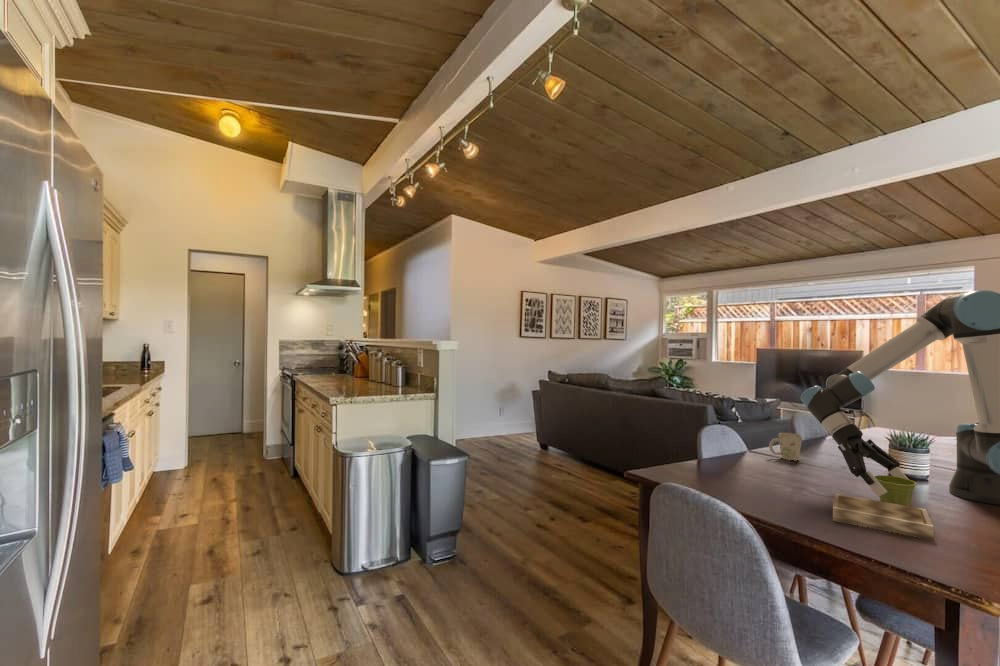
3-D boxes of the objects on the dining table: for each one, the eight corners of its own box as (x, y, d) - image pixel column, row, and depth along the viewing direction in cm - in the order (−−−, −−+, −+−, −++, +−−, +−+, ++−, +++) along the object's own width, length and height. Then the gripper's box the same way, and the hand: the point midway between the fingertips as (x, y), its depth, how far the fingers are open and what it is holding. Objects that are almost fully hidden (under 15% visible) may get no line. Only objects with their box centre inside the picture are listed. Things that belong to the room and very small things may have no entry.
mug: (806, 461, 188) (806, 437, 188) (775, 461, 188) (775, 436, 188) (794, 456, 196) (794, 433, 196) (764, 456, 196) (764, 432, 197)
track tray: (925, 522, 125) (925, 509, 125) (933, 541, 113) (933, 526, 113) (834, 505, 137) (834, 493, 138) (832, 520, 126) (832, 507, 126)
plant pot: (905, 518, 128) (905, 486, 129) (866, 506, 137) (866, 477, 137) (923, 513, 132) (923, 482, 132) (885, 502, 141) (885, 473, 141)
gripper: (857, 434, 155) (911, 493, 141) (807, 438, 146) (859, 503, 131) (875, 420, 150) (933, 480, 136) (825, 425, 141) (881, 490, 127)
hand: (897, 491), depth 134 cm, fingers open, 13 cm apart
